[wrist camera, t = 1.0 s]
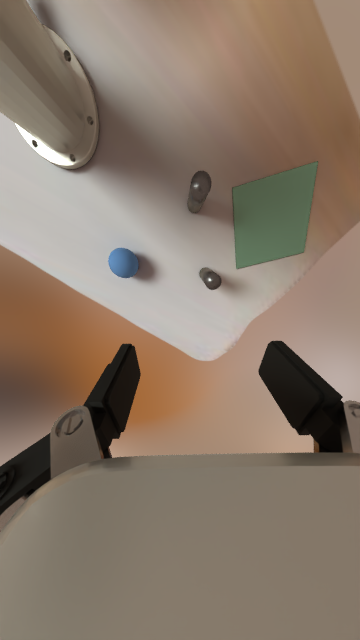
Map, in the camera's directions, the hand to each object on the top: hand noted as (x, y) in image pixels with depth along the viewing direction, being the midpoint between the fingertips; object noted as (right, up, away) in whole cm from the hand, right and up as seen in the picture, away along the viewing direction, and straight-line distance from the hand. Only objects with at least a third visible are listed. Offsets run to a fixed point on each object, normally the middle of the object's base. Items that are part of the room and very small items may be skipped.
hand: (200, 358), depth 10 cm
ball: (-13, +14, +18) cm, 26 cm away
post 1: (+1, +24, +16) cm, 29 cm away
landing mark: (+16, +22, +17) cm, 32 cm away
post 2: (+4, +13, +22) cm, 26 cm away
